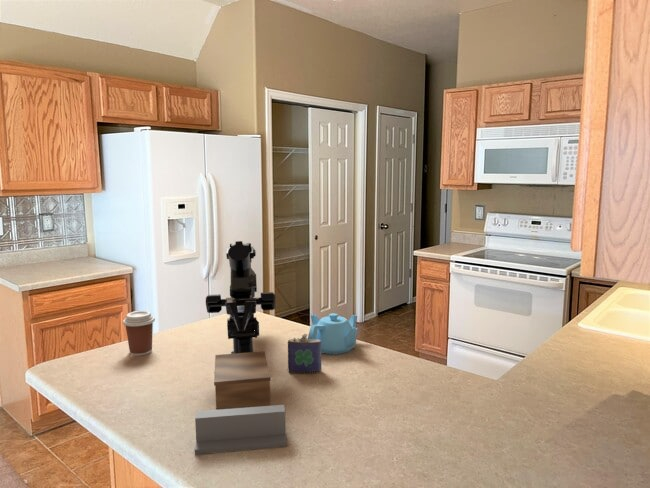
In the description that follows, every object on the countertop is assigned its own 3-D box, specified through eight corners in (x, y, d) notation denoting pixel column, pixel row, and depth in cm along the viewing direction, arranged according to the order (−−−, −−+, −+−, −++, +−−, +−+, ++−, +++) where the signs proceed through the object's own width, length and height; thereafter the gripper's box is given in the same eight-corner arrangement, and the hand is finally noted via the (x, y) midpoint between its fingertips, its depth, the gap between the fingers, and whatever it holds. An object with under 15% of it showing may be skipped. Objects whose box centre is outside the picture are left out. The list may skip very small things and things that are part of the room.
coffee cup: (120, 351, 154) (117, 313, 152) (149, 344, 160) (147, 307, 158) (132, 359, 147) (129, 320, 145) (161, 352, 153) (159, 314, 151)
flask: (321, 369, 139) (321, 332, 137) (321, 374, 136) (320, 336, 135) (288, 369, 140) (287, 332, 138) (287, 373, 137) (286, 336, 135)
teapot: (311, 338, 164) (310, 306, 163) (357, 339, 164) (357, 307, 162) (307, 356, 149) (306, 321, 148) (357, 356, 149) (358, 321, 147)
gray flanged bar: (197, 438, 104) (196, 411, 103) (284, 431, 107) (284, 404, 106) (194, 454, 99) (193, 426, 98) (286, 446, 101) (286, 418, 100)
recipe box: (216, 389, 128) (215, 355, 127) (265, 384, 130) (264, 351, 129) (215, 420, 112) (214, 382, 111) (271, 415, 114) (270, 377, 113)
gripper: (204, 266, 135) (202, 317, 126) (274, 263, 138) (277, 314, 129) (208, 287, 144) (206, 337, 135) (273, 285, 147) (276, 333, 138)
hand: (241, 330), depth 134 cm, fingers closed
